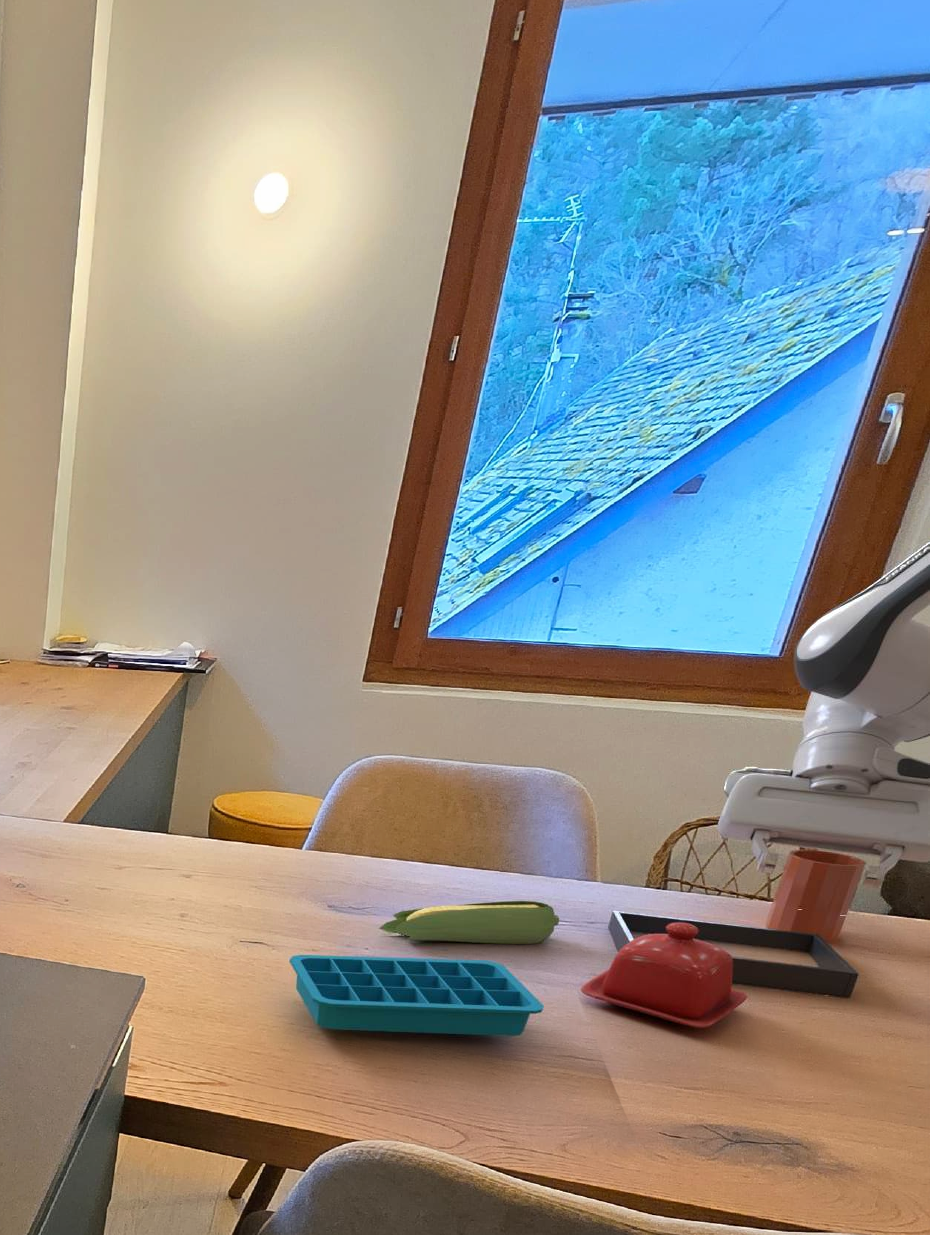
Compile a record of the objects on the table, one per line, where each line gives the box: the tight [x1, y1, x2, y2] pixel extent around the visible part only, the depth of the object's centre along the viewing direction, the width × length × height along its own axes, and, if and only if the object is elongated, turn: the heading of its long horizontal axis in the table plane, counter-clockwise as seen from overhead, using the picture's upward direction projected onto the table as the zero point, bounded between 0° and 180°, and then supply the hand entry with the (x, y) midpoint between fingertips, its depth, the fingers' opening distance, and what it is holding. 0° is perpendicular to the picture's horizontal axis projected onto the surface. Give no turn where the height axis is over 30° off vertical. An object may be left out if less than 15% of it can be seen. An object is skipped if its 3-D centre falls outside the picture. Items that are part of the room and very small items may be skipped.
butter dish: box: [580, 922, 748, 1029], centre depth 114 cm, size 12×12×8 cm
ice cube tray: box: [289, 954, 545, 1037], centre depth 113 cm, size 12×20×3 cm, turn 83°
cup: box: [764, 849, 867, 943], centre depth 132 cm, size 7×7×10 cm
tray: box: [607, 910, 860, 999], centre depth 126 cm, size 19×13×3 cm
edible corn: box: [378, 900, 560, 945], centre depth 133 cm, size 5×20×5 cm, turn 89°
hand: (817, 877), depth 132 cm, fingers open, 8 cm apart
